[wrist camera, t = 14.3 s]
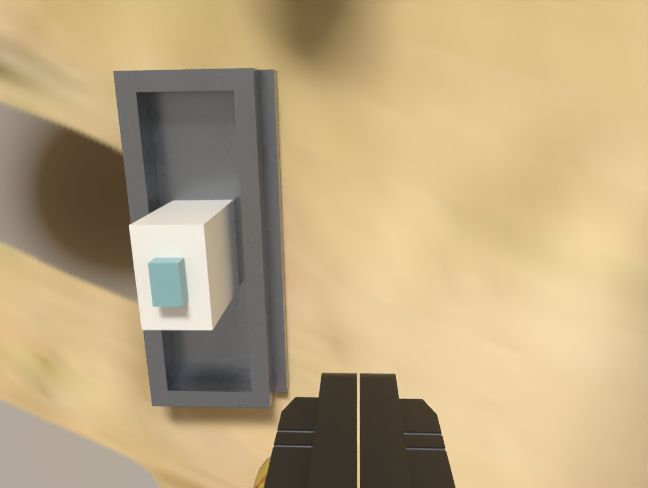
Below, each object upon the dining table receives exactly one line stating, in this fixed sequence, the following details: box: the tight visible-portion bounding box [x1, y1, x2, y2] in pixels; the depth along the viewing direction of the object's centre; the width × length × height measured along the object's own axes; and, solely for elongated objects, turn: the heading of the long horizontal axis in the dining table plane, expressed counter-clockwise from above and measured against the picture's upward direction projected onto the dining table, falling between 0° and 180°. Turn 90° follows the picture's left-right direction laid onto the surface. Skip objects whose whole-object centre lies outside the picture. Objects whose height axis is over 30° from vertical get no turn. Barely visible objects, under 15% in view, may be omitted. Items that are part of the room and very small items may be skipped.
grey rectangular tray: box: [114, 68, 289, 408], centre depth 35 cm, size 22×10×3 cm, turn 1°
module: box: [129, 200, 239, 330], centre depth 32 cm, size 6×4×8 cm, turn 1°
